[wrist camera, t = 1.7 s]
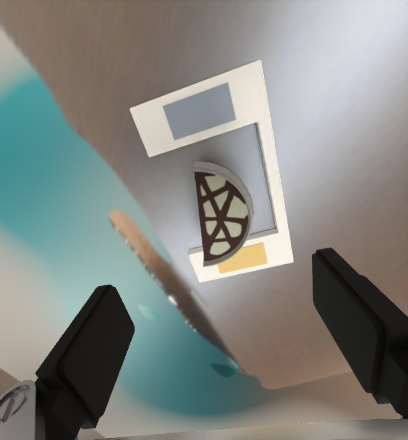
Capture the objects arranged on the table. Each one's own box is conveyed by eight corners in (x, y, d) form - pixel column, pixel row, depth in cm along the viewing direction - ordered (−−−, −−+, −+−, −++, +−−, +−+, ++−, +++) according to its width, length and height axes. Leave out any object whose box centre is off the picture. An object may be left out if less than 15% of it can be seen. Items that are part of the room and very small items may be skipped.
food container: (244, 228, 33) (256, 268, 24) (205, 231, 34) (203, 270, 25) (243, 147, 28) (258, 159, 19) (197, 151, 29) (191, 165, 20)
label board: (258, 62, 24) (261, 58, 23) (290, 256, 35) (294, 262, 34) (133, 109, 27) (128, 108, 25) (200, 276, 38) (199, 283, 36)
